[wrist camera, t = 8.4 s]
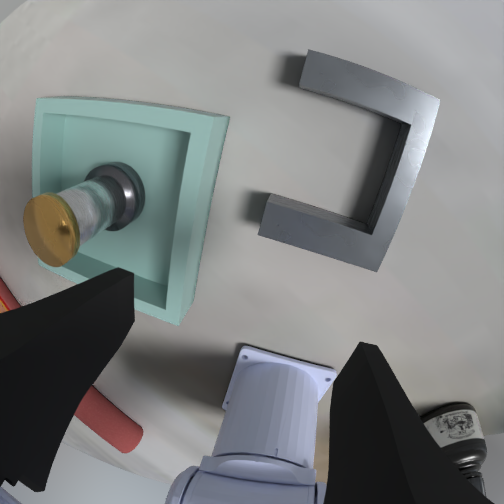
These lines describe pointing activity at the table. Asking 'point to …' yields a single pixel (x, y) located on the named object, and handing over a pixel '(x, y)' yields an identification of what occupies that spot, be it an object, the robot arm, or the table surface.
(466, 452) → the ink bottle
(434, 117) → the bracket
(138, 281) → the tray
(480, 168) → the table surface
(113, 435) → the blood vessel
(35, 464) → the robot arm
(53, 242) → the glass jar
